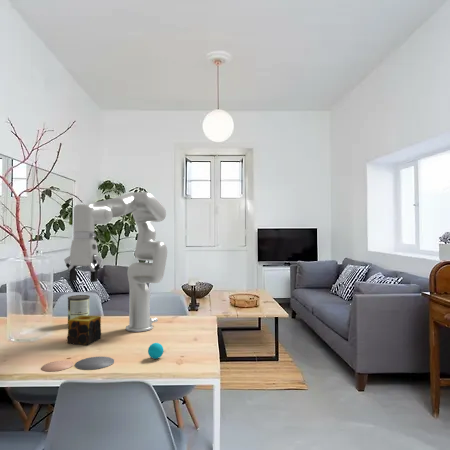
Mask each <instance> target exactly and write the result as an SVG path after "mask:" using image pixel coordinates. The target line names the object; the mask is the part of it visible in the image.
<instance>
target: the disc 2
mask: <svg viewBox="0 0 450 450" xmlns="http://www.w3.org/2000/svg"><path fill="white" fill-rule="evenodd" d="M114 363H115V359H114V358H112V357H110V356H91V357H86V358H83V359H81V360H78V361H75V364H74V367H75V368H76V369H78V370H83V371H92V370H94V371H95V370H101V369H105V368H108V367H111V365H113V364H114Z"/></svg>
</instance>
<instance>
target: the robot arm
mask: <svg viewBox="0 0 450 450" xmlns="http://www.w3.org/2000/svg"><path fill="white" fill-rule="evenodd" d="M130 213H132V217H133V220H134V221H135V223H136V226H137V229H138V234H137V240H136V244H135V248H134V249H135V250H134V256H135V258H136V259H137V260H139V261H151V262H134V263H133V262H132V264H129V266H128V268H127V271H126V272H127V279H128V284H129V285H128V286H129V300H128V301H129V303H128V304H129V311H128V312H129V316H128V317H129V321H128V325H126V327H125V330H126V331H127V332H133V333H135V332H136V333H139V332H148V331H150V330H152V329H153V328H154V325H153V323H157V322H159V321H158V318H157V317H154V318H153V317H150V316H151V315H150V314H151V313H150V312H151V309H150V307H151V306H150V305H151V302H150V299H151V297H150V296H151V294H150V293H151V290H150V287H149V286H148V284H158V283H161V281H162V280H163V278H164V274H165V269H166V265H167V257H168V247H167V244H165V243H164V241H159V240H156V235H157V234H156V229H155V227H154V225H153V224H152V223H158V222H159V223H160V222H163V221H164V220H165V219H166V216H167V211H166V208H165V206H164V205H163V204H162V203H161V202H160V200H158V198H157V197H156V196H154V195H153V194H152V193H151V192H148V191H142V192H141V191H139V192H137V191H136V192H134V191H133V192H129V193H126V194H123V195H120V196H115V197H113V198H108V199H104V200H100V201H95V202H92V203H88V204H86V203H85V204H76V205H74V206H73V233H72V235H73V240H72V241H71V246H70V252H69V256H68V257H66V258H64V263H65V266H66V267H67V270H68V271H69V282H74V281H77V279H78V276H77V275H78V270H76V269H77V268H78V267H89V269H90V270H91V271H90V281H89V282H90V283H95V282H98V278H99V276H98V273H99V271H100V269H101V268H102V266H103V262H104V259H103V258H101V257H99V250H98V245H97V244H98V243H97V239H95V238H96V237H97V234H96V233H95V225H106V224H108V223H110V222H111V221H112V219H113V218H120V217H123V216H125V215H128V214H130Z"/></svg>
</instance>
